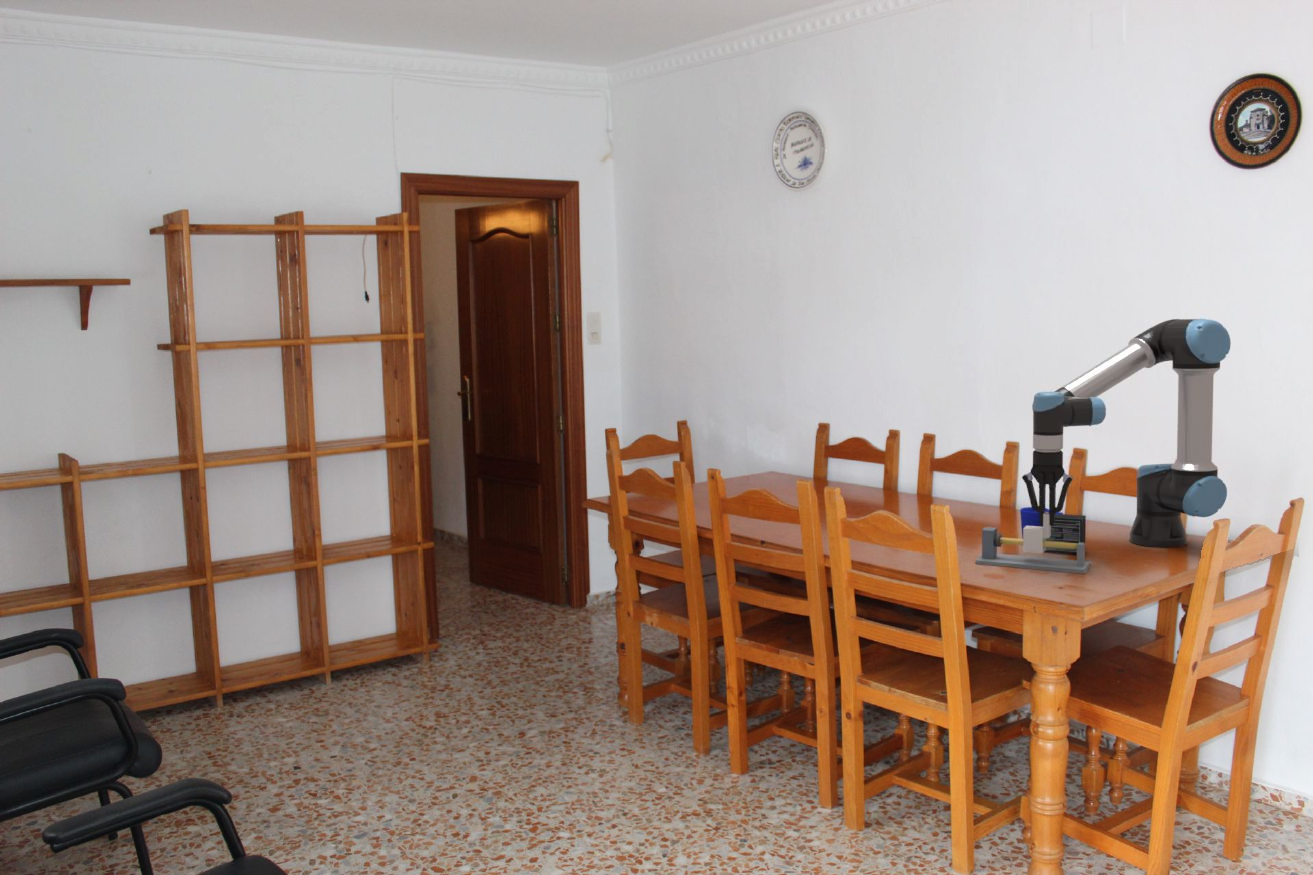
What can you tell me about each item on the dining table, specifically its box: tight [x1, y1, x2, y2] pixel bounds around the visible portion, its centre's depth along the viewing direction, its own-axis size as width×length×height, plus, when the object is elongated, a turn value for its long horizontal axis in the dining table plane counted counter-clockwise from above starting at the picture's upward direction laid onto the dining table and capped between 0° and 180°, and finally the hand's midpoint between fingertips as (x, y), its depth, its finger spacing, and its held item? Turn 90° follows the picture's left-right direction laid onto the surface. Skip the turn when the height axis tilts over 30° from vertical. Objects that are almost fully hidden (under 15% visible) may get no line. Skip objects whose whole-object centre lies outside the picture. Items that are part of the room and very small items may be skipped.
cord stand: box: [975, 526, 1092, 575], centre depth 285 cm, size 28×10×9 cm, turn 59°
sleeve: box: [1022, 526, 1046, 554], centre depth 285 cm, size 5×4×6 cm
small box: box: [1043, 513, 1087, 556], centre depth 299 cm, size 11×6×10 cm, turn 59°
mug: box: [1019, 506, 1064, 539], centre depth 311 cm, size 8×12×10 cm
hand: (1046, 536), depth 283 cm, fingers closed
